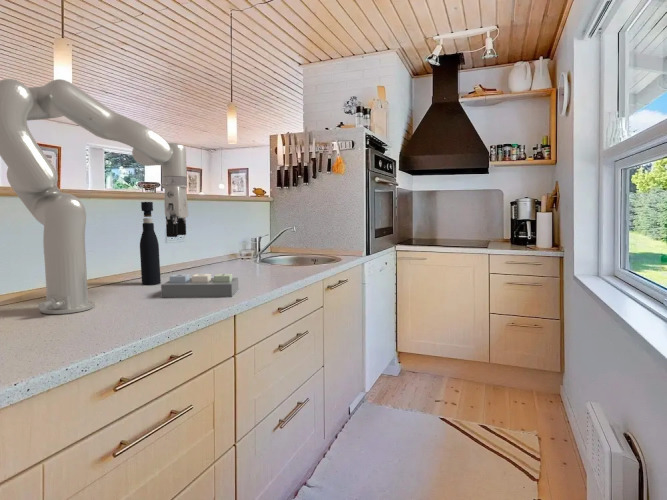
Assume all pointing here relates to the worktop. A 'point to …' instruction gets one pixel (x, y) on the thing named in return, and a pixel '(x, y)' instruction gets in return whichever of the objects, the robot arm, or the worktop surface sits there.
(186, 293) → the key panel
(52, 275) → the robot arm
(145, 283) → the wine bottle
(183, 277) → the key blue
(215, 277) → the key sage
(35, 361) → the worktop surface
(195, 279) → the key cream
